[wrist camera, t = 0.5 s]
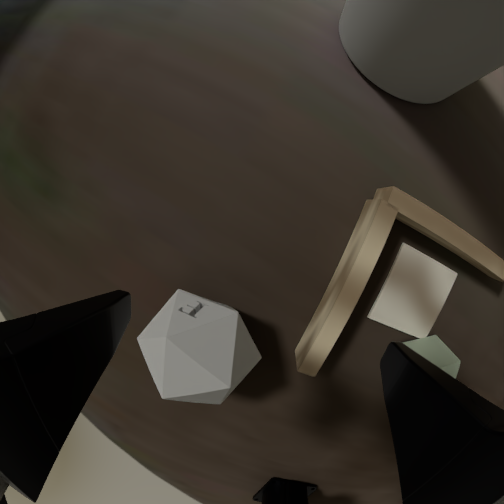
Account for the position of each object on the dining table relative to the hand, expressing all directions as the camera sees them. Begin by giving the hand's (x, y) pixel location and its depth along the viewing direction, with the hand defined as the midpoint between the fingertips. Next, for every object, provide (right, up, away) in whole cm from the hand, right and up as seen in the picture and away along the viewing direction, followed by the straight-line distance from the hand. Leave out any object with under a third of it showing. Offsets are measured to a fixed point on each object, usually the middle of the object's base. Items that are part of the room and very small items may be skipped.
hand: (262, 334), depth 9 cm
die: (-4, -4, +16) cm, 17 cm away
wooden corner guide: (+13, -2, +14) cm, 19 cm away
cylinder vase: (+13, +22, +10) cm, 28 cm away
